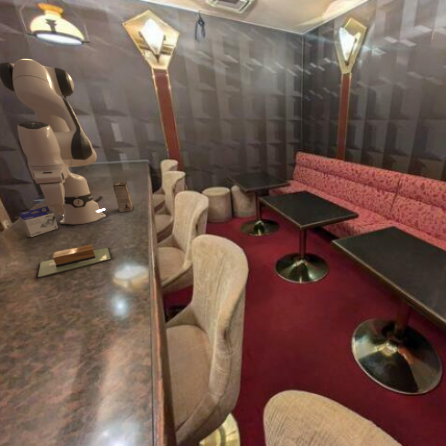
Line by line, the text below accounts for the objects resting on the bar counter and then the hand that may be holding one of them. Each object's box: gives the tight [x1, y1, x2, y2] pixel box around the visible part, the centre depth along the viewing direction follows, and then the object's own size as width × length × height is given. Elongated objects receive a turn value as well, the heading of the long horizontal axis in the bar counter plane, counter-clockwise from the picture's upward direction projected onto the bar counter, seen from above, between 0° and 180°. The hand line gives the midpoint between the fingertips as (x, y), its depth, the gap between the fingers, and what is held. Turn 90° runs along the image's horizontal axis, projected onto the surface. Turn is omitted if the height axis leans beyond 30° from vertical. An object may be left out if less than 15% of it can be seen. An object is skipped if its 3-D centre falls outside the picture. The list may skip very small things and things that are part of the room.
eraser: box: [52, 244, 95, 267], centre depth 93 cm, size 5×11×4 cm, turn 131°
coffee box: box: [112, 181, 133, 213], centre depth 147 cm, size 9×6×16 cm
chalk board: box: [37, 247, 112, 278], centre depth 93 cm, size 12×20×1 cm, turn 131°
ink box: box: [18, 205, 59, 238], centre depth 114 cm, size 12×2×12 cm, turn 168°
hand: (62, 210), depth 90 cm, fingers open, 8 cm apart
